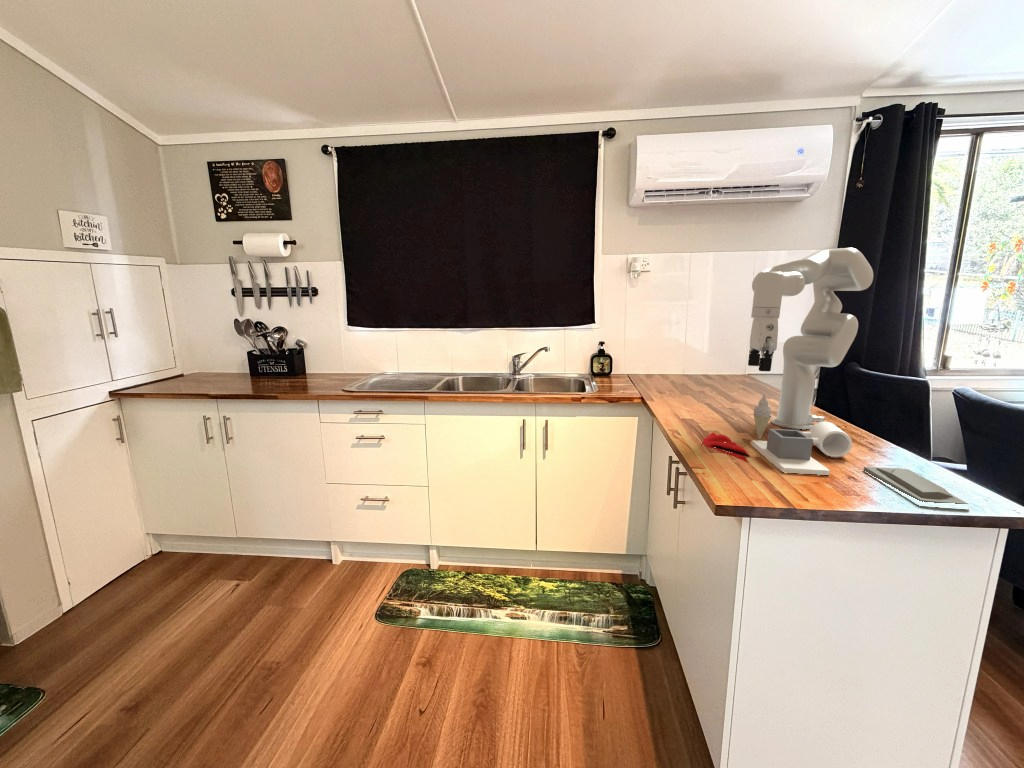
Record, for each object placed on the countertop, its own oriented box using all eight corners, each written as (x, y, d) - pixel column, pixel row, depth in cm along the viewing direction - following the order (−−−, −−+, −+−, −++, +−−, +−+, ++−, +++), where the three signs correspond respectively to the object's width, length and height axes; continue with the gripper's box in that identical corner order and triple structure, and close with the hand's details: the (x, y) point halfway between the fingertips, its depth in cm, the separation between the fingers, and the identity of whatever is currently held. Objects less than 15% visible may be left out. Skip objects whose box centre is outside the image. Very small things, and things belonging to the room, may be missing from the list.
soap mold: (905, 476, 116) (908, 463, 115) (969, 513, 96) (973, 498, 96) (862, 473, 117) (864, 460, 116) (916, 509, 98) (919, 494, 97)
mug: (836, 447, 135) (840, 422, 133) (850, 459, 126) (854, 432, 124) (791, 443, 138) (795, 418, 137) (801, 454, 129) (805, 428, 127)
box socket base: (789, 446, 135) (792, 423, 133) (829, 476, 114) (833, 448, 112) (751, 444, 136) (754, 421, 135) (783, 473, 115) (787, 445, 114)
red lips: (695, 432, 150) (696, 426, 150) (740, 436, 146) (740, 430, 146) (705, 460, 126) (706, 452, 125) (759, 465, 122) (760, 457, 121)
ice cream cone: (746, 436, 144) (752, 392, 141) (761, 436, 144) (767, 391, 141) (756, 442, 139) (762, 395, 136) (771, 441, 139) (777, 395, 136)
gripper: (791, 314, 126) (783, 373, 130) (768, 312, 143) (761, 364, 146) (762, 314, 127) (755, 372, 131) (743, 311, 144) (737, 363, 148)
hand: (758, 368), depth 139 cm, fingers open, 9 cm apart
